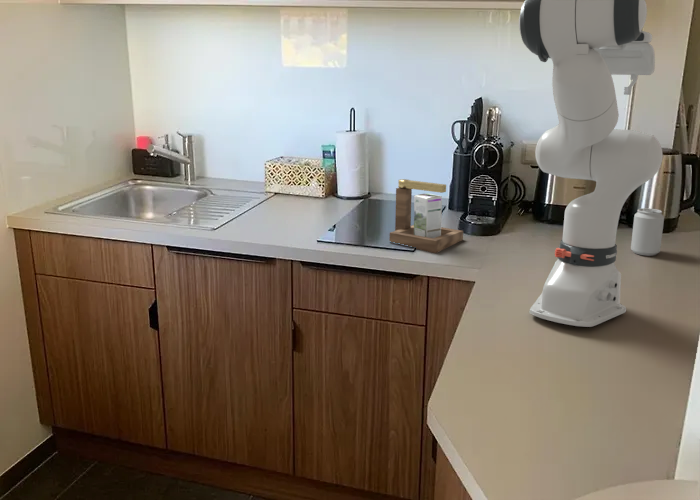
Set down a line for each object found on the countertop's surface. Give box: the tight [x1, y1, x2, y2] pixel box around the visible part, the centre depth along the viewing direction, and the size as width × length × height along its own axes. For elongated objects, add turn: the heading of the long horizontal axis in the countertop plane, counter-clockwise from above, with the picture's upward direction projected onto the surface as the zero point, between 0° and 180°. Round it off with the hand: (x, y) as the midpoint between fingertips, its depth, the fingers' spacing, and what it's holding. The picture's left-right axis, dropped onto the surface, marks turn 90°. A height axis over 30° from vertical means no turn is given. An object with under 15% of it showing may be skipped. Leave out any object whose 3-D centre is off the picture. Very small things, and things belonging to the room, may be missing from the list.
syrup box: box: [413, 193, 443, 238], centre depth 200 cm, size 6×6×14 cm
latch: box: [397, 178, 447, 194], centre depth 199 cm, size 15×3×2 cm, turn 53°
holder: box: [388, 187, 464, 254], centre depth 201 cm, size 15×17×16 cm
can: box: [630, 207, 665, 257], centre depth 194 cm, size 8×8×12 cm
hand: (606, 94), depth 175 cm, fingers open, 8 cm apart
